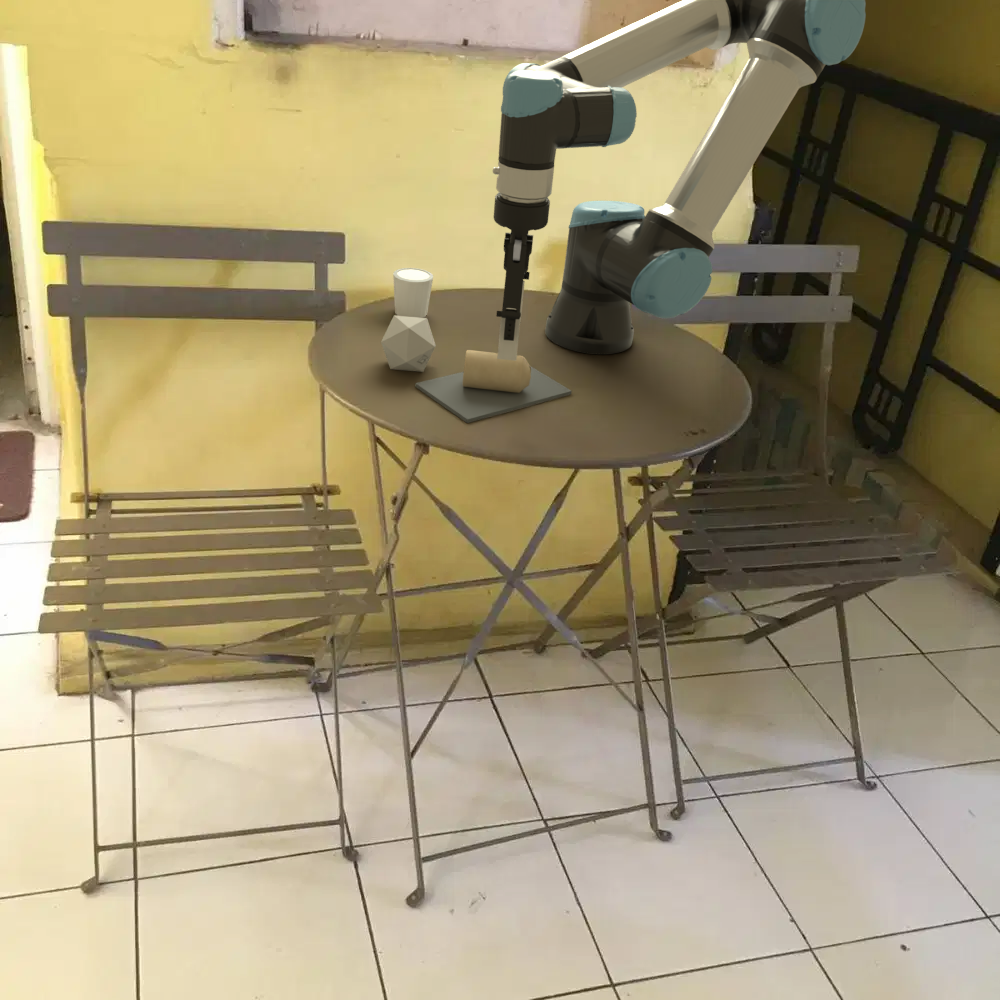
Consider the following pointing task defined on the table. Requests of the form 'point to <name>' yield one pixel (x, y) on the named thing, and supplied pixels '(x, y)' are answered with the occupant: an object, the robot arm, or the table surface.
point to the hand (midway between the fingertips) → (509, 339)
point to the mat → (489, 395)
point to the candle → (495, 372)
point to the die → (408, 343)
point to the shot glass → (412, 292)
